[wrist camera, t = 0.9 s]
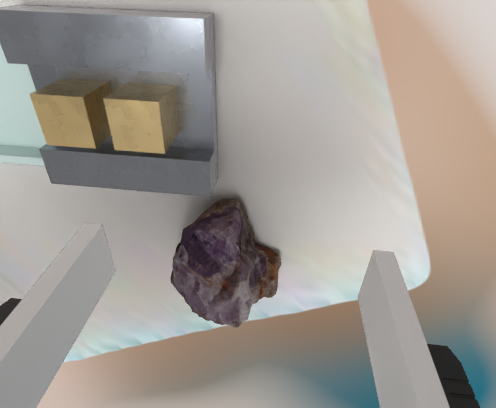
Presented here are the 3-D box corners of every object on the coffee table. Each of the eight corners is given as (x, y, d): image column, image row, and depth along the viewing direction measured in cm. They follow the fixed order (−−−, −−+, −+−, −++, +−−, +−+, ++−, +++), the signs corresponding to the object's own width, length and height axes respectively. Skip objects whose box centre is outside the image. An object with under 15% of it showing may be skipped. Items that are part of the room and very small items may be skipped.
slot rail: (71, 165, 34) (51, 183, 31) (21, 4, 26) (-13, 9, 23) (218, 176, 33) (211, 196, 30) (213, 13, 25) (203, 18, 22)
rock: (255, 184, 34) (170, 208, 37) (243, 225, 27) (137, 252, 29) (288, 274, 39) (210, 290, 41) (286, 331, 31) (190, 346, 34)
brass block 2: (134, 129, 29) (114, 150, 26) (126, 82, 27) (103, 98, 24) (179, 133, 29) (165, 153, 26) (174, 85, 27) (158, 101, 23)
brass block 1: (73, 125, 30) (47, 145, 26) (60, 78, 27) (29, 93, 24) (117, 128, 29) (95, 148, 26) (108, 81, 27) (82, 97, 24)
